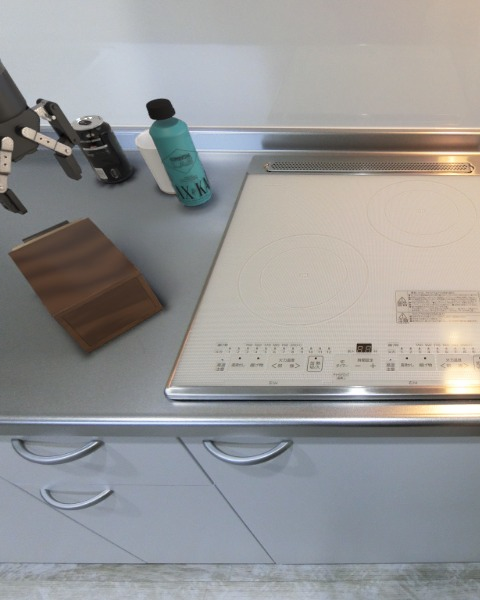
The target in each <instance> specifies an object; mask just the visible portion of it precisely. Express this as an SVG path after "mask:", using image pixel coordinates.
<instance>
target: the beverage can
mask: <svg viewBox="0 0 480 600" xmlns="http://www.w3.org/2000/svg"><path fill="white" fill-rule="evenodd" d="M70 124H71V125H72V127H73V129H74V130H75V132H76V133H77V135H78V136H79V138H80V140H81V141H80V144H78V145H77V146H78V148H79V150H80V152H81V153H82V155H83V156H84V157H85V159H86V161H87V163H88V164H89V166H90V168H91V169H92V171H93V172H94V175H95V176H96V177H97V179H98V180H99V181H100V182H103V183H108V184H116V183H121V182H123V181H125V180H127V179H128V178H129V177H130V176H131V174H132V173H133V167H132V164H131V163H130V160H129V159H128V157H127V155H126V153H125V151H124V150H123V147H122V145H121V144H120V141H119V139H118V138H117V136H116V134H115V131H114V130H113V128H112V126H111V124H110V123H109V122H107V121H104V119H103V117H102V116H100V115H95V114H93V115H85V116H81V117H79V118H76V119H75V120H73V121H72V122H70Z"/></svg>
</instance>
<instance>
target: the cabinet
mask: <svg viewBox="0 0 480 600" xmlns="http://www.w3.org/2000/svg"><path fill="white" fill-rule="evenodd" d="M7 255H8V256H9V258H10V259H11V261H12V262H13V264H14V265H15V267H16V268H17V269H18V271H19V272H20V273H21V275H22V276H23V278H24V279H25V280H26V282H27V283H28V284H29V286H30V287H31V289H32V291H33V292H34V293H35V294H36V296H37V297H38V299H39V301H40V302H41V303H42V304H43V306H44V307H45V309H46V310H47V311H48V313H49V314H50V316H51V318H53V319H54V321H55V322H57V323H58V325H60V327H62V329H63V330H64V331H65V332H66V333H67V334H68V335H69V336H70V337H71V338H72V339H73V340H74V341H75V342H76V343H77V344H78V346H79V347H80V348H82V350H84V352H85V353H86V354H90V353H92V352H93V351H95V350H96V349H98V348H100V347H101V346H103V345H105V344H107V343H108V342H110V341H112V340H113V339H115V338H116V337H118V336H120V335H122V334H124V333H125V332H127V331H128V330H130V329H132V328H134V327H135V326H137V325H138V324H140V323H142V322H144V321H145V320H147V319H148V318H150V317H152V316H153V315H155V314H157V313H159V312H160V311H162V310H164V307H163V305H162V304H161V303H160V301H159V299H158V298H157V296H156V294H155V293H154V292H153V290H152V288H151V287H150V285H149V283H148V281H146V279H145V277H144V276H143V274H142V272H141V271H140V269H138V267H137V266H136V265H135V264H134V263H133V262H132V261H131V260H130V259H129V258H128V257H127V256H126V255H125V254H124V253H123V252H122V250H121V249H120V248H119V247H118V246H117V245H116V244H114V242H113V241H112V240H111V239H110V238H109V237H108V236H107V235H106V234H105V233H104V232H103V231H102V230H101V228H100V227H98V226H97V224H96V223H94V222H93V221H92V219H91V218H89V217H86V218H83V220H81V221H79V222H77V223H74V224H72V225H70V226H68V227H66V228H63V229H61V230H59V231H57V232H54V233H52V234H50V235H48V236H45V237H43V238H41V239H39V240H36V241H34V242H32V243H30V244H28V245H25V246H23V247H21V248H19V249H16V250H14V251H12V250H11V251H10V252H7Z"/></svg>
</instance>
